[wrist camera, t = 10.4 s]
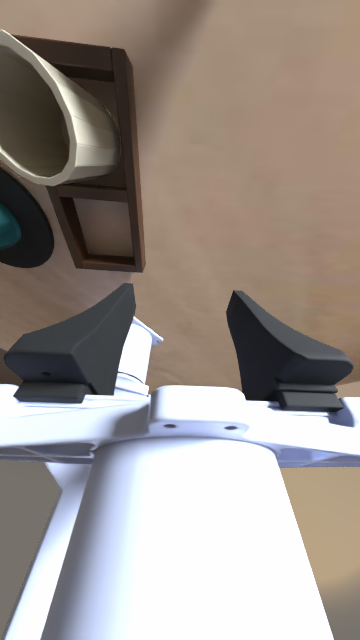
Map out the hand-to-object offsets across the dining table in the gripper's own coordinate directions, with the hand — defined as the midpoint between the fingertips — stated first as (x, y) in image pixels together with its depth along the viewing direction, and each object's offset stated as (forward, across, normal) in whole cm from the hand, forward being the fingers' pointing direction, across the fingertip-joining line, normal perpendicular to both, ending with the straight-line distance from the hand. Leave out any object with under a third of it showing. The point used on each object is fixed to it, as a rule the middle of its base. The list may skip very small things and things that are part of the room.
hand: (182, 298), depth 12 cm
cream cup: (+9, +8, -8) cm, 15 cm away
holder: (+9, +8, -5) cm, 13 cm away
